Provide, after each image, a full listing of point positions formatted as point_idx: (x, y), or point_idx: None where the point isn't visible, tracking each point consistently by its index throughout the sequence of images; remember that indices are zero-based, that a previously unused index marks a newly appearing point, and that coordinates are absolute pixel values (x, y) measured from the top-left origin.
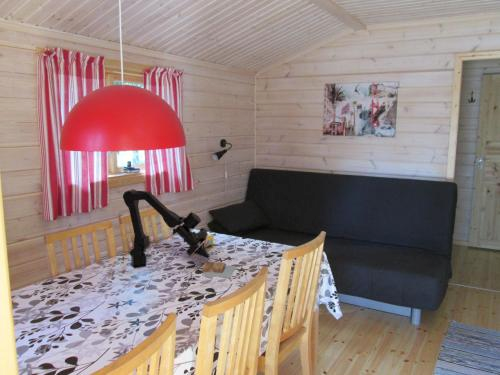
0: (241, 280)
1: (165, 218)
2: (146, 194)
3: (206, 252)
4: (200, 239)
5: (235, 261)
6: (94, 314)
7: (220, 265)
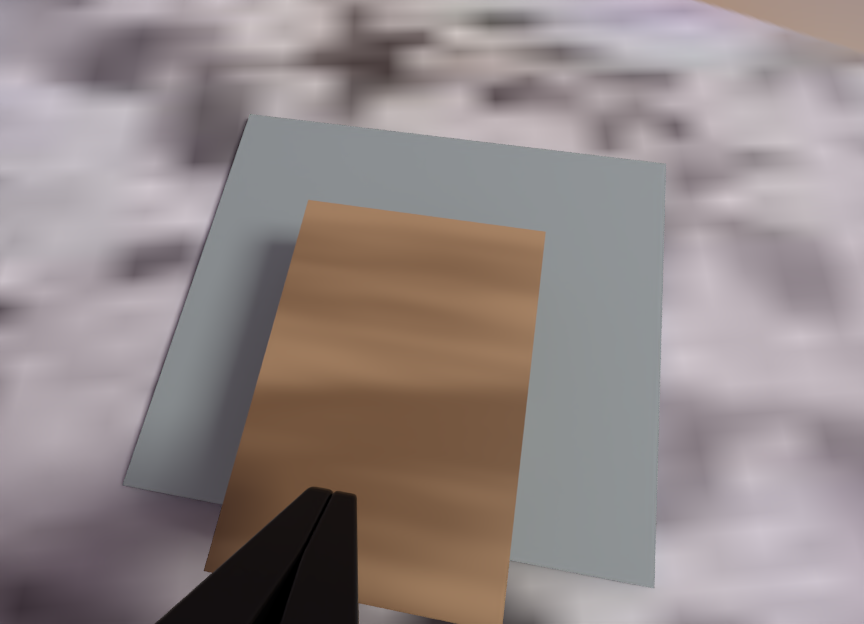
0: (735, 54)
1: None
2: None
3: (256, 614)
4: None
5: (50, 133)
6: None
7: (454, 262)
